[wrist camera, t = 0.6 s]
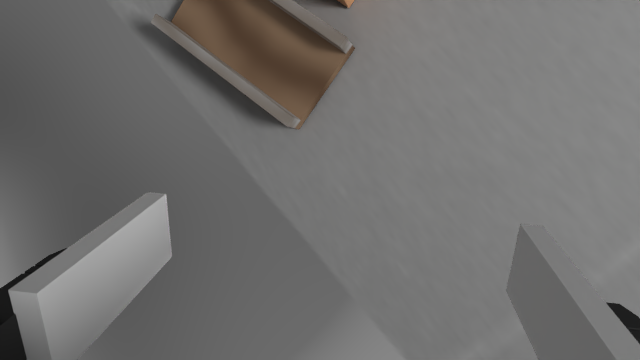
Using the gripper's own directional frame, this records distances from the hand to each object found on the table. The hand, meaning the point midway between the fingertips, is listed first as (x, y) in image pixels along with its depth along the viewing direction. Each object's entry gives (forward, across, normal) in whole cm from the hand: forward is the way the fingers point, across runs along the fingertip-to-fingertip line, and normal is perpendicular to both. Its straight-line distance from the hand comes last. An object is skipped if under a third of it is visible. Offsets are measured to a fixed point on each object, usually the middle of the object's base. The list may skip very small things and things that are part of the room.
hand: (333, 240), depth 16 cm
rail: (+30, -11, +6) cm, 33 cm away
